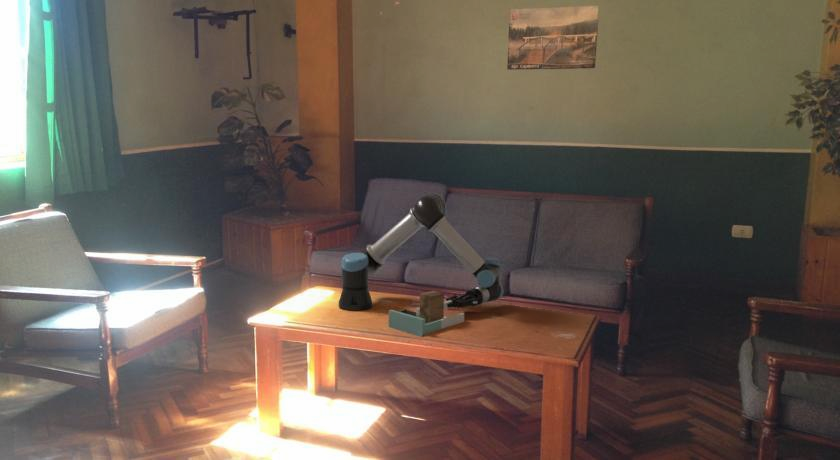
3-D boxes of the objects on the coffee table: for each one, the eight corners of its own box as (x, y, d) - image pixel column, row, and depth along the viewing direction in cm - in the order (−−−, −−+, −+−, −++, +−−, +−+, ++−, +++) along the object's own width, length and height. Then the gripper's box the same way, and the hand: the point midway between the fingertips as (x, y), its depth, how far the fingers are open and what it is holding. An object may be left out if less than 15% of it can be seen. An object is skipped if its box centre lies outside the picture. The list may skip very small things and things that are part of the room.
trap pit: (390, 320, 302) (390, 313, 301) (405, 316, 308) (405, 309, 308) (400, 323, 297) (400, 316, 297) (416, 319, 304) (416, 312, 303)
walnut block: (419, 322, 296) (419, 293, 294) (433, 318, 301) (433, 290, 299) (429, 325, 292) (429, 296, 290) (443, 321, 297) (443, 293, 295)
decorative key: (411, 312, 325) (451, 310, 316) (410, 312, 324) (450, 311, 315) (409, 297, 324) (449, 295, 315) (408, 298, 323) (448, 296, 314)
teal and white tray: (388, 326, 292) (388, 310, 291) (430, 314, 310) (430, 299, 309) (422, 337, 279) (422, 319, 278) (464, 323, 297) (464, 307, 296)
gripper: (488, 307, 311) (452, 318, 294) (465, 302, 320) (429, 312, 303) (488, 290, 309) (452, 300, 293) (465, 285, 318) (429, 295, 301)
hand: (440, 306), depth 298 cm, fingers closed
